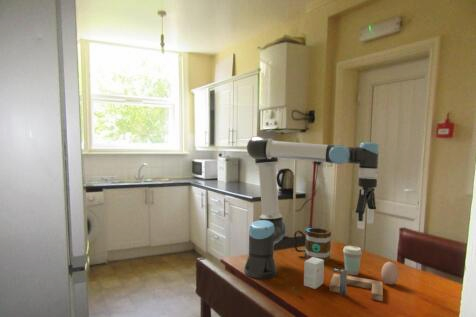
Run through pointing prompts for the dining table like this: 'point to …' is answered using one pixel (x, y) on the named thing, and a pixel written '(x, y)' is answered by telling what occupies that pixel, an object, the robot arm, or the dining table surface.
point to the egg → (389, 273)
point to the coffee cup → (352, 259)
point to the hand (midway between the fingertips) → (365, 225)
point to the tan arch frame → (358, 285)
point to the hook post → (342, 281)
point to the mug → (316, 243)
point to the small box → (313, 272)
